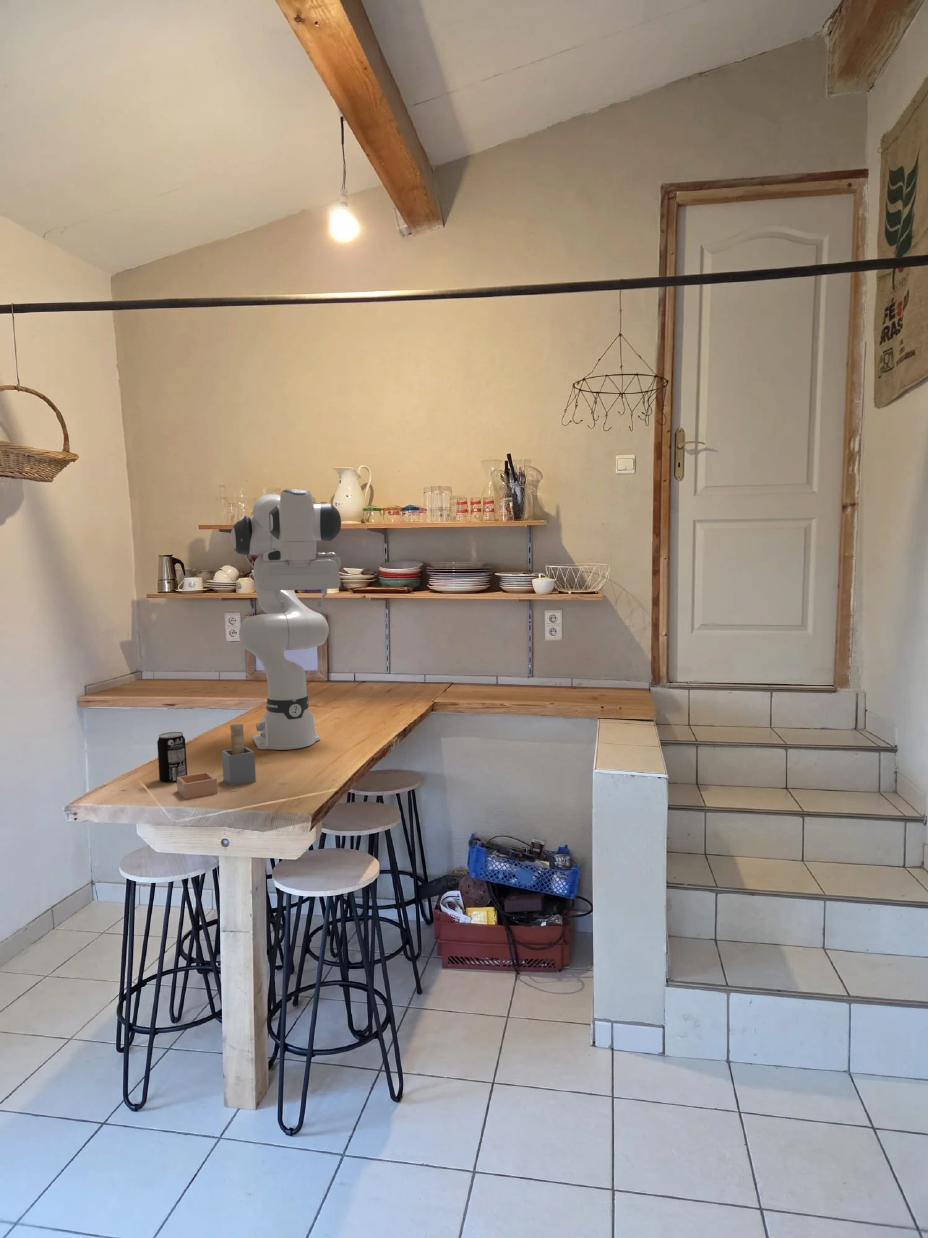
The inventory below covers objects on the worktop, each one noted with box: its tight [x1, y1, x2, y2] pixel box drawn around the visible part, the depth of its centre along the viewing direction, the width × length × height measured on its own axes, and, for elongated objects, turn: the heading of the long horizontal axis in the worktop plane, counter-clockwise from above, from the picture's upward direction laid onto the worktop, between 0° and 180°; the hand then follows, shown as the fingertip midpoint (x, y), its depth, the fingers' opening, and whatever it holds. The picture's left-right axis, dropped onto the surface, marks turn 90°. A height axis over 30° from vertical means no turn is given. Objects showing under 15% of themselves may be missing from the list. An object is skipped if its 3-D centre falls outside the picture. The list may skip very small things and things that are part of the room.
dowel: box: [230, 723, 245, 755], centre depth 195 cm, size 3×3×14 cm
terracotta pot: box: [176, 771, 218, 800], centre depth 187 cm, size 7×7×4 cm
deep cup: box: [221, 746, 257, 787], centre depth 195 cm, size 6×6×8 cm
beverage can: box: [156, 731, 188, 784], centre depth 198 cm, size 7×7×12 cm
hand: (301, 607), depth 200 cm, fingers open, 8 cm apart
